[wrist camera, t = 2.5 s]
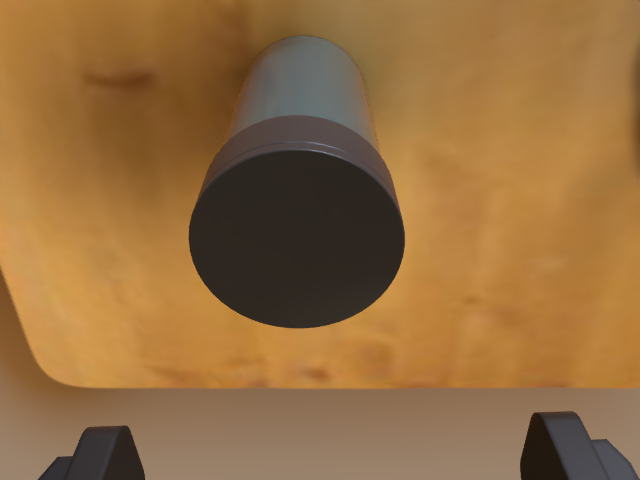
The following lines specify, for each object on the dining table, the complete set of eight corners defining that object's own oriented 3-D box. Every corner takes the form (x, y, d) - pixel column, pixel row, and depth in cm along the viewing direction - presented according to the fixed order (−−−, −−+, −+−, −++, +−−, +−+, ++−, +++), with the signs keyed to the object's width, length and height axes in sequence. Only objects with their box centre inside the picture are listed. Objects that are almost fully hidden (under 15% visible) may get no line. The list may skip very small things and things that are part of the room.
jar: (235, 37, 26) (182, 149, 16) (366, 33, 26) (402, 142, 16) (248, 157, 30) (211, 316, 19) (364, 154, 30) (392, 311, 19)
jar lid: (188, 117, 17) (170, 152, 15) (399, 111, 17) (411, 145, 15) (216, 284, 21) (204, 331, 19) (390, 279, 21) (399, 326, 19)
